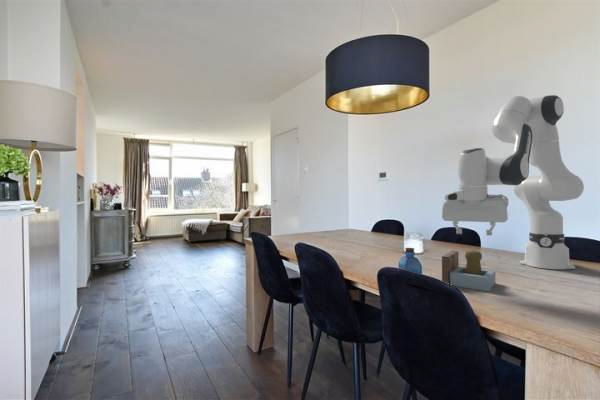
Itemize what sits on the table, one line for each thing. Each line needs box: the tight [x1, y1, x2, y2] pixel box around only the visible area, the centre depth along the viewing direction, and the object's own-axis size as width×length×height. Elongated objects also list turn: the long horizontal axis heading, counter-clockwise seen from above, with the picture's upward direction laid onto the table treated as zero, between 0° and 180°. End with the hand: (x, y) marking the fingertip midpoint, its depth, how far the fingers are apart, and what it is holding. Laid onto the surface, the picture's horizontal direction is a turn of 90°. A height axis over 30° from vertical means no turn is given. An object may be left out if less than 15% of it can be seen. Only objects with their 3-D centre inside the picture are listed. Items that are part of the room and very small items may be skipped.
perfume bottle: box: [398, 247, 423, 275], centre depth 119 cm, size 6×6×12 cm
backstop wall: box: [441, 250, 460, 284], centre depth 118 cm, size 14×2×10 cm, turn 140°
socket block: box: [450, 266, 496, 292], centre depth 113 cm, size 12×12×4 cm
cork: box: [464, 249, 483, 276], centre depth 113 cm, size 6×6×11 cm
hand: (473, 234), depth 113 cm, fingers open, 8 cm apart
